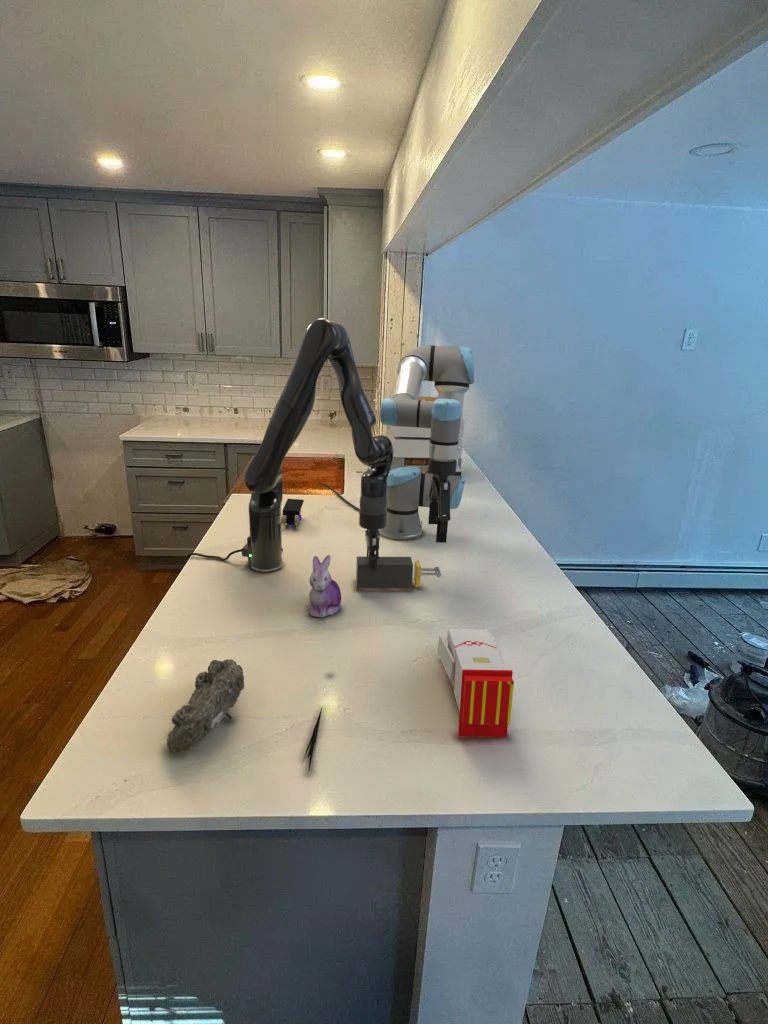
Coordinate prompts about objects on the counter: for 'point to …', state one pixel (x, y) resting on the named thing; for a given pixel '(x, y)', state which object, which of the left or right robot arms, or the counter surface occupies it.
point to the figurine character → (292, 512)
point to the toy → (478, 682)
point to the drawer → (418, 573)
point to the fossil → (206, 705)
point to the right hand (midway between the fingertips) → (436, 532)
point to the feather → (313, 740)
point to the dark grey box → (384, 574)
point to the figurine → (323, 590)
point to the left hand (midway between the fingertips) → (371, 563)
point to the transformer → (413, 443)
